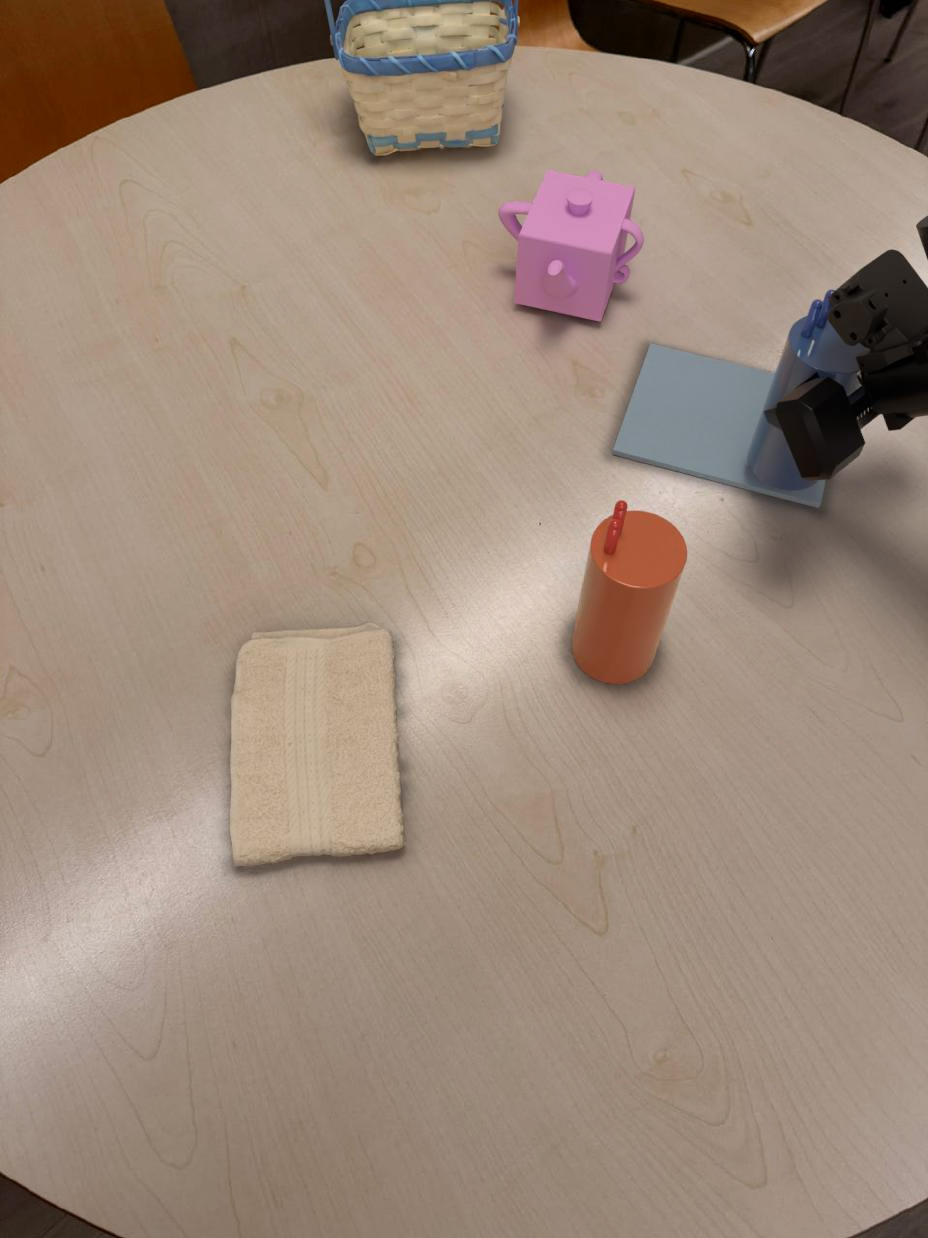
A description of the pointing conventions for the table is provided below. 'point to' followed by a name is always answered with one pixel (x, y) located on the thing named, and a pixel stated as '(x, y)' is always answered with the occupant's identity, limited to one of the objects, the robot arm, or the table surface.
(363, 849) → the washcloth
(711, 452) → the blue mat
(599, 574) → the red spoon jar
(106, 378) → the table surface
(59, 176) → the table surface
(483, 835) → the table surface
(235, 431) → the table surface
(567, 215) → the teapot
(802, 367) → the blue spoon jar
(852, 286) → the robot arm
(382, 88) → the basket
